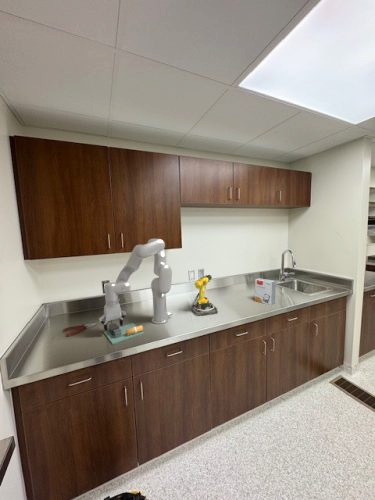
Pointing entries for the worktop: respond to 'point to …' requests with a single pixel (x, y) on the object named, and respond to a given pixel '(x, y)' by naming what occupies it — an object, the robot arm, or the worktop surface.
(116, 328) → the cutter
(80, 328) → the pliers
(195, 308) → the yellow upright jointed figure
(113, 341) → the cutting mat
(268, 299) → the hard drive box
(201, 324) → the worktop surface
